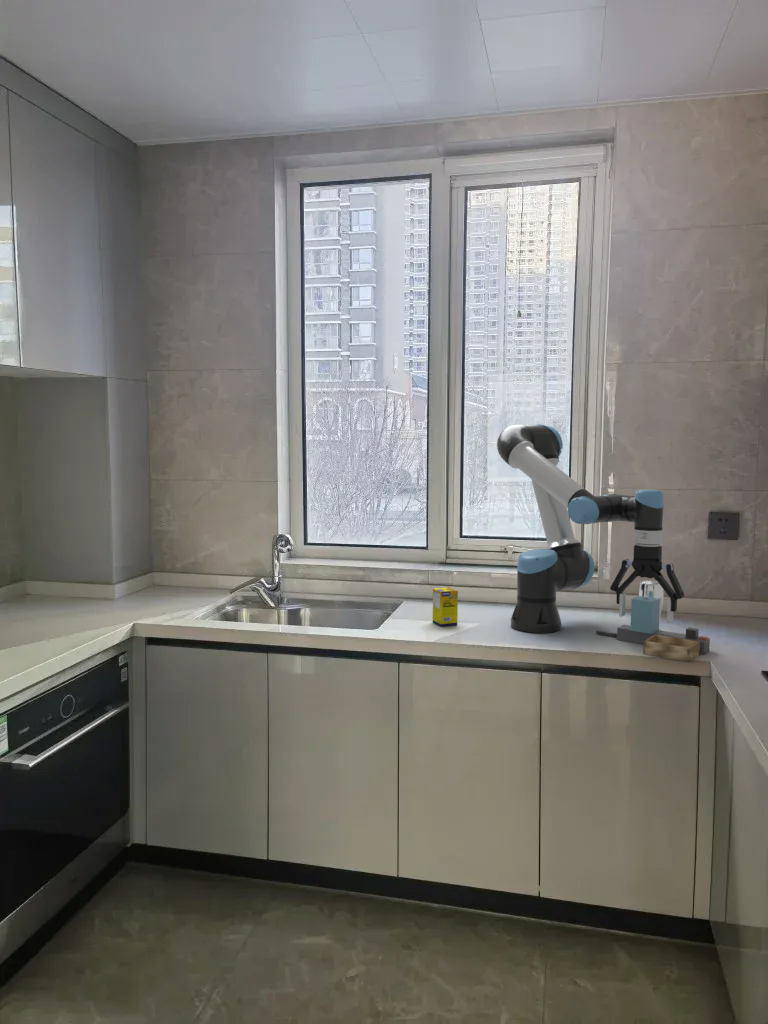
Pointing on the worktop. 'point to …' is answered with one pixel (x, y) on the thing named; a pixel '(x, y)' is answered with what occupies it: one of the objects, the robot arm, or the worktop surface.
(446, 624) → the supplement box
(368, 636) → the worktop surface
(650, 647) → the tray
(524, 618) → the robot arm
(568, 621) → the worktop surface
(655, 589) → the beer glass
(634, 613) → the block
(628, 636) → the power strip
